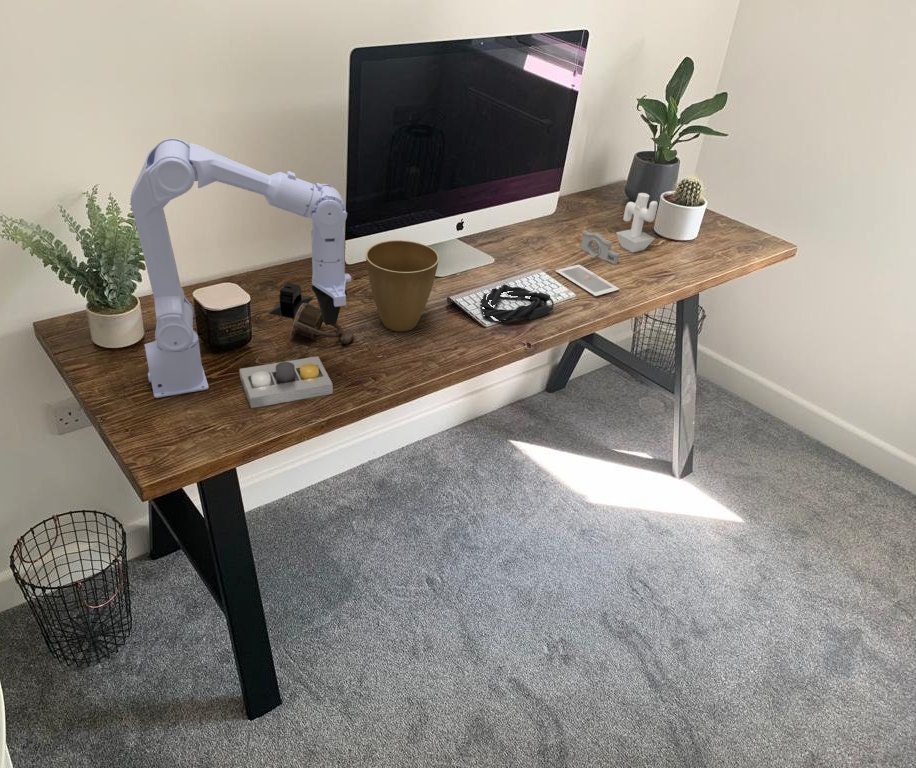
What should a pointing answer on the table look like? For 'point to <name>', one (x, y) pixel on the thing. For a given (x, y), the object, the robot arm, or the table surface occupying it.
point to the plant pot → (401, 281)
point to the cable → (520, 312)
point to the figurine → (637, 224)
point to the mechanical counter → (315, 324)
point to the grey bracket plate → (603, 247)
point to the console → (285, 384)
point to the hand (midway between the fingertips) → (330, 322)
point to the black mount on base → (290, 301)
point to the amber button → (309, 371)
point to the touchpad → (587, 280)
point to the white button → (260, 379)
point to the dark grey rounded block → (285, 372)
